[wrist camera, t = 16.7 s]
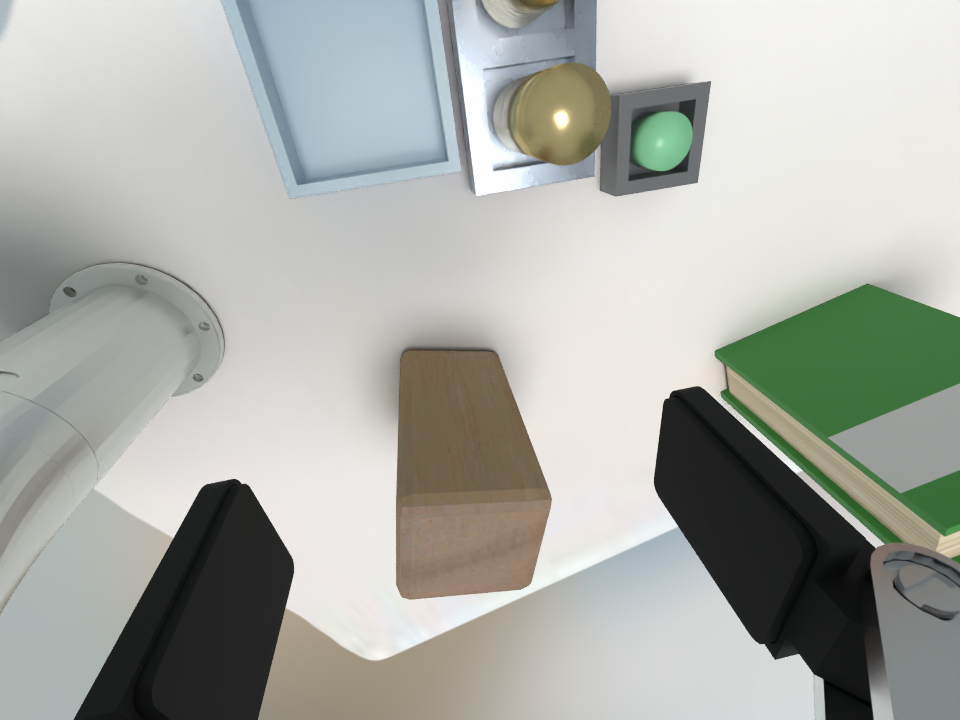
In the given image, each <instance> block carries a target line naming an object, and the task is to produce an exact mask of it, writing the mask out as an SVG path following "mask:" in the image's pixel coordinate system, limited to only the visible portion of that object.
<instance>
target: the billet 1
mask: <svg viewBox="0 0 960 720" xmlns="http://www.w3.org/2000/svg"><path fill="white" fill-rule="evenodd" d="M559 1H561V0H482V3H483V5H484V7H485V9H486V11H487V12H488V14H489V15H490V16H491V17H492V18H493V19H494V20H495V21H496V22H497V23H499V24H501V25H503V26H505V27H509V28H520V27H523V26H526V25H528V24H530V23H531V22H532V21H534V20H535V19H537V18H538V17H539V16H541V15H542V14H543V13H545V12H546V11H547V10H549V9H550V8H551V7H553V6H554V5H555V4H557V3H558V2H559Z"/></svg>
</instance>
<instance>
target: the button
mask: <svg viewBox="0 0 960 720" xmlns="http://www.w3.org/2000/svg"><path fill="white" fill-rule="evenodd" d="M692 137H693V131H692V126H691V123H690V121H689V119H688V118H687V117H686V116H685V115H683V114H682V113H680V112H674V111H672V112H648V113H645V114H642V115H641V116H639V117H638V118H637V119H636V120H635V121H634V122H633V123H632V124H631V138H630V157H629V161H630V162H631V163H632V164H633V165H635V166H638V167H642V168H647V169H651V170H656V171H667V170H670V169H672V168H674V167H675V166H677V165H678V164H679V163H680V162H681V161H682V160H683V159H684V158H685V156H686V155H687V153H688V151H689V149H690V146H691V143H692Z"/></svg>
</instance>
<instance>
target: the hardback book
mask: <svg viewBox="0 0 960 720" xmlns="http://www.w3.org/2000/svg"><path fill="white" fill-rule="evenodd" d="M715 356H716V358H717V359H719V360H720V361H721V362H722V363H724V364H725V365H726V369H727V377H728V384H729V389H726V390H724V391H722V392H721V397H722V398H723V399H724V400H725V401H726V402H727V403H728V404H729V405H731V406H732V407H733V408H734V409H735V410H736V411H737V412H738V413H739V414H741V415H742V416H743V417H744V418H745V419H746V420H747V421H748V422H749V423H751V424H752V425H753V426H754V427H755V428H756V429H757V430H758V431H760V432H761V433H762V434H763V435H764V436H765V437H766V438H767V439H768V440H770V441H771V442H772V443H773V444H774V445H775V446H776V447H777V448H778V449H780V450H781V451H782V452H783V453H784V454H785V455H786V456H787V457H789V458H790V459H791V460H792V461H793V462H794V463H795V464H796V465H797V466H799V467H800V468H801V469H802V470H803V471H804V472H805V473H806V474H807V475H809V476H810V477H811V478H812V479H813V480H814V481H815V482H816V483H818V484H819V485H820V486H821V487H822V488H823V489H824V490H825V491H827V492H828V493H829V494H830V495H831V496H832V497H833V498H834V499H835V500H836V501H838V502H839V503H840V504H841V505H842V506H843V507H844V508H845V509H847V510H848V511H849V512H850V513H851V514H852V515H853V516H854V517H855V518H857V519H858V520H859V521H860V522H861V523H862V524H863V525H864V526H865V527H867V528H868V529H869V530H870V531H871V532H873V534H875V536H877V537H878V538H879V539H880V540H881V541H882V542H883V543H884V544H888V543H907V544H912V545H917V546H922V547H925V548H927V549H930V550H933V551H935V552H938V553H941V554H943V555H945V556H947V557H948V558H950V559H952V560H954V561H956V562H958V563H959V564H960V317H957V316H954V315H951V314H949V313H946V312H943V311H941V310H938V309H935V308H932V307H930V306H927V305H924V304H921V303H919V302H916V301H913V300H910V299H908V298H905V297H902V296H900V295H897V294H894V293H891V292H889V291H886V290H883V289H880V288H878V287H875V286H872V285H870V284H866V285H863V286H861V287H859V288H857V289H854V290H852V291H850V292H847V293H845V294H843V295H841V296H838V297H836V298H834V299H832V300H829V301H827V302H825V303H823V304H820V305H818V306H816V307H813V308H811V309H809V310H807V311H804V312H802V313H800V314H798V315H795V316H793V317H791V318H789V319H786V320H784V321H782V322H779V323H777V324H775V325H773V326H770V327H768V328H766V329H764V330H761V331H759V332H757V333H755V334H752V335H750V336H748V337H745V338H743V339H741V340H739V341H736V342H734V343H732V344H730V345H727V346H725V347H723V348H721V349H718V350H716V351H715Z"/></svg>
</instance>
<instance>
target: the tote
mask: <svg viewBox="0 0 960 720" xmlns="http://www.w3.org/2000/svg"><path fill="white" fill-rule="evenodd" d="M221 3H222V5H223V8H224V11H225V14H226V17H227V20H228V23H229V26H230V28H231V31H232V34H233V37H234V40H235V43H236V46H237V49H238V51H239V54H240V57H241V60H242V63H243V66H244V69H245V72H246V75H247V77H248V80H249V83H250V86H251V89H252V92H253V95H254V98H255V100H256V103H257V106H258V109H259V112H260V115H261V118H262V121H263V123H264V126H265V129H266V132H267V135H268V138H269V141H270V144H271V147H272V149H273V152H274V155H275V158H276V161H277V164H278V167H279V170H280V172H281V175H282V178H283V181H284V184H285V187H286V190H287V193H288V195H289V198H290V199H293V198H299V197H305V196H311V195H318V194H324V193H330V192H336V191H342V190H349V189H355V188H361V187H367V186H374V185H380V184H386V183H392V182H399V181H405V180H411V179H417V178H423V177H430V176H436V175H442V174H448V173H455V172H461V166H460V158H459V151H458V144H457V137H456V130H455V123H454V115H453V108H452V101H451V94H450V87H449V80H448V73H447V65H446V58H445V51H444V44H443V37H442V30H441V22H440V15H439V8H438V1H437V0H221Z"/></svg>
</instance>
